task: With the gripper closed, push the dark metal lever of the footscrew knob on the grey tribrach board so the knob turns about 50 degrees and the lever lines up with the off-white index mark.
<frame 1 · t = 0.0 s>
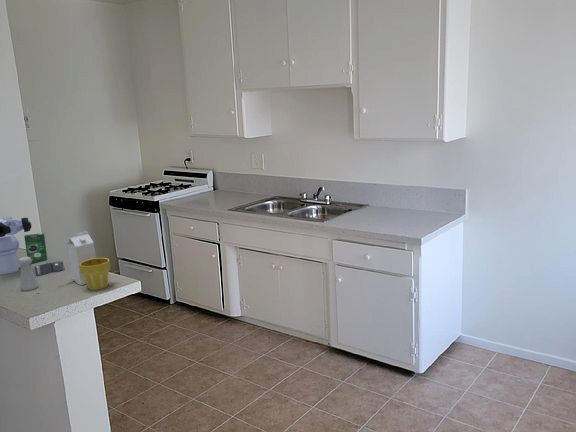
hand: (19, 227, 204), 22 cm above the countertop, tool horizontal, fingers open, 7 cm apart
milk carton: (85, 281, 205), on the countertop
salt shaker: (30, 292, 196), on the countertop
plant pot: (98, 287, 197), on the countertop
footscrew knob: (49, 267, 215), point 3 cm above the countertop, hinge at 0.0°
coffee box: (38, 263, 236), on the countertop
tribrach board: (47, 275, 216), on the countertop
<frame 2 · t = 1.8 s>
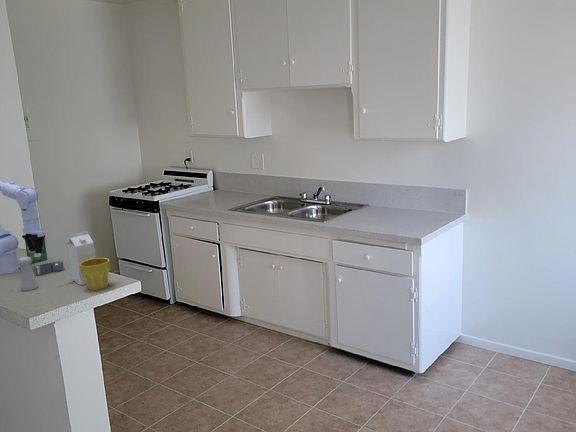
hand: (36, 252, 216), 9 cm above the countertop, tool pointing down, fingers open, 5 cm apart
nothing on the countertop moved.
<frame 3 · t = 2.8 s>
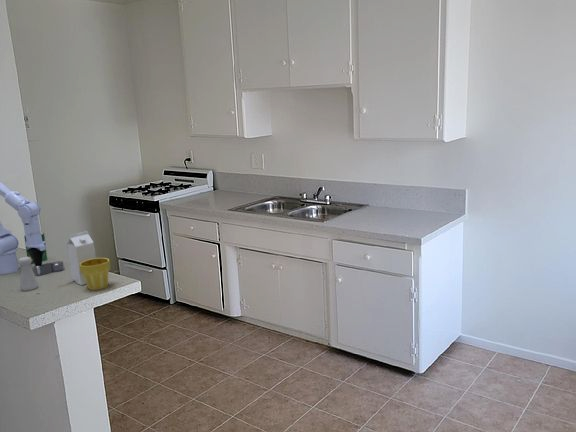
hand: (38, 265, 217), 4 cm above the countertop, tool pointing down, fingers closed
nothing on the countertop moved.
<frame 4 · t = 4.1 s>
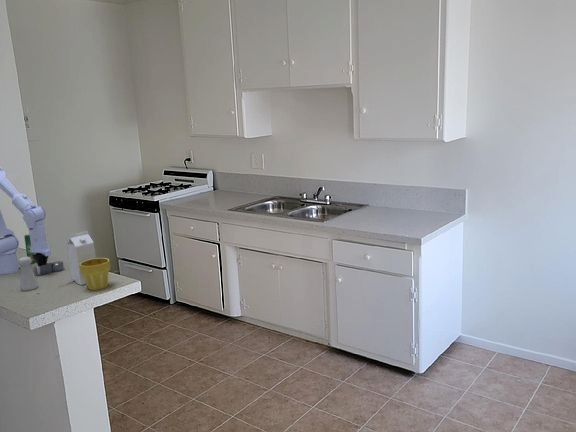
hand: (43, 270, 215), 2 cm above the countertop, tool pointing down, fingers closed, pressing on footscrew knob
footscrew knob: (49, 267, 215), point 3 cm above the countertop, hinge at 0.2°, touching gripper
everything else where it was.
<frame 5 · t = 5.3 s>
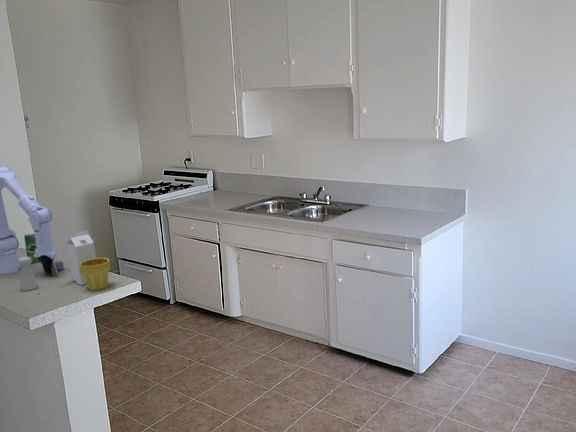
hand: (48, 273, 211), 2 cm above the countertop, tool pointing down, fingers closed, pressing on footscrew knob
footscrew knob: (55, 267, 214), point 3 cm above the countertop, hinge at 57.8°, touching gripper
everything else where it was.
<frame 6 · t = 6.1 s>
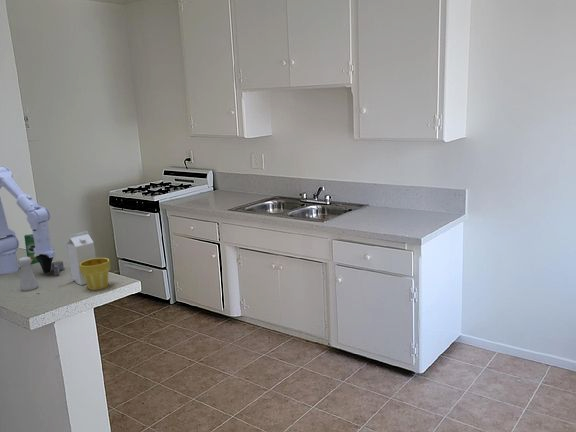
hand: (47, 272, 212), 2 cm above the countertop, tool pointing down, fingers closed
footscrew knob: (56, 267, 214), point 3 cm above the countertop, hinge at 63.4°
everything else where it was.
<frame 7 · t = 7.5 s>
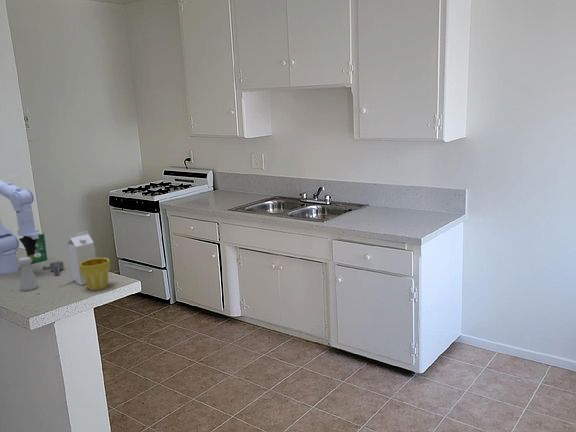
hand: (31, 254, 212), 9 cm above the countertop, tool pointing down, fingers closed
nothing on the countertop moved.
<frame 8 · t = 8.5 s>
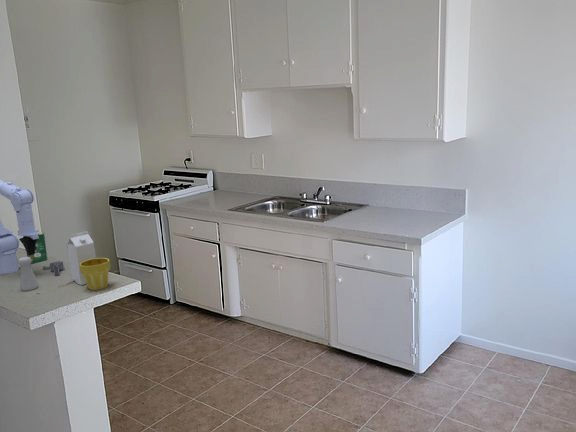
hand: (31, 254, 212), 9 cm above the countertop, tool pointing down, fingers closed
nothing on the countertop moved.
at the end: footscrew knob at +64° (first picture: +0°) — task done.
